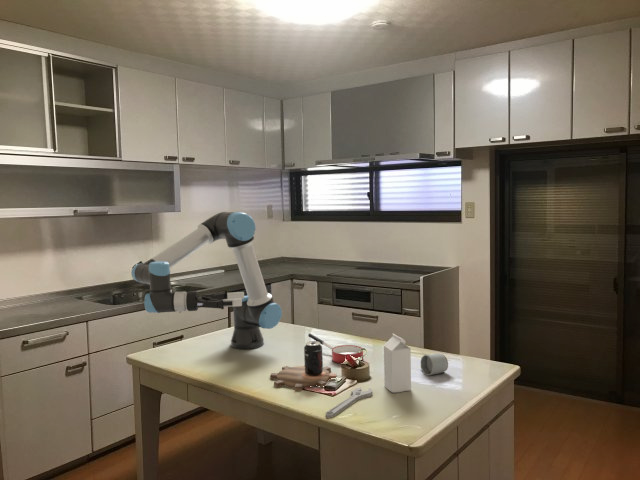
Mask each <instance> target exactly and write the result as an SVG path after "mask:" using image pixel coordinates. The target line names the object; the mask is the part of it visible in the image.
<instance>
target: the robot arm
mask: <svg viewBox="0 0 640 480" xmlns="http://www.w3.org/2000/svg"><path fill="white" fill-rule="evenodd" d="M256 227H257V226H256V223H255V220H254V218H253V217H252V216H251V215H250V214H248V213H246V212H242V211H235V212H234V211H221V212H218V213H216V214H214V215H212V216H210V217H209V218H207V219H205V220H204V221H203V222H201V223H200V224H198V225H197V228H196V229H195V230H193V231H192V232H190V233H188V234H186V235H185V236H184V237H182V238H180V239H179V240H178V241H176V242H174V243H173V244H171V245H170V246H168V247H167V248H165V249H164V250H163V251H160V252H159V253H158V254H156V255H155V256H153V257H152V258H150V259H149V260H147V261H145V262H142V263H137V264H134V266H133V267H132V269H131V273H130V274H131V277H132V279H133V280H134V281H136V282H138V283H140V284H146V285H149V292H148V293H146V294H145V295H144V302H143V305H144V309H145V311H146V313H153V314H155V313H157V314H159V313H174V312H175V313H176V312H178V313H179V314H181V313H182V312H187V311H188V312H196V311H198V310H199V308H200V309H201V308H203V309H204V308H205V309H207V308H208V309H220V310H224V309H225V308H231V307H232V308H233V326H234V327H233V328H234V329H233V332H232V336H231V340H230V347H231V348H233V349H238V350H249V349H255V348H260V347H262V346H263V345H264V342H265V341H264V337H263V333H262V332H261V329H268V330H271V329H274V328H275V327H277V326H278V325H279V323H280V322H281V321H280V320H281V319H282V314H283V311H282V308H281V306H280V304H279V303H276V302H275V301H274V298H273V295H272V293H269V292H268V289H267V287H266V284H265V281H264V277H263V274H262V271H261V268H260V265H259V261H258V259H257V258H258V257H257V256H256V255H257V254H256V251H255V249H254V245H253V242H254V241H255V237H254V236H255V232H256V230H257V229H256ZM218 240H225V242H226V244H227V248H228V249H231V250H232V252H233V254H234V257H235V261H236V264H237V267H238V270H239V273H240V275H241V278H242V281H243V284H244V289H245V291H246V294H247V295H245V291H236V292H235V291H233V292H228V290H224V291H221V292H214V293H213V292H212V293H207V294H206V293H205V294H204V293H203V294H201V296H199V293H198V291H197V290H195V291H194V290H193V291H192V290H191V291H171V290H172V289H171V270H170V269H172V268H173V267H174V266H176V265H177V264H178V263H180V262H182V261H183V260H185V259H186V258H187V257H189V256H191V255H192V254H193V253H195V252H197V251H198V250H200V249H201V248H203V247H204V246H206V245H207V244H213V243H214V242H216V241H218Z"/></svg>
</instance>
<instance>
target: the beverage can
mask: <svg viewBox="0 0 640 480" xmlns="http://www.w3.org/2000/svg"><path fill="white" fill-rule="evenodd" d="M303 355H304V358H303V359H304V365H305V373H306V374H307V375H309V376H319V375H320V374H321V373H322V372H323V367H324V364H323V363H324V362H323V359H324V358H323V346H322V344H320V342H318V341H315V340H309V341H307V342H305V345H304V347H303Z"/></svg>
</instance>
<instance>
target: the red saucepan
mask: <svg viewBox="0 0 640 480" xmlns="http://www.w3.org/2000/svg"><path fill="white" fill-rule="evenodd" d="M308 337H309V338H310V339H312V340H313V341H318V342H320V345H321V346H322V345H324V346H325V347H327V348H328V349H330V350H331V359H332V361H333V362H334V363H336V364H340V365H342V364H341V363H343V362H344V361H345V356H346V355H347V354H349V355H351V356H353V357H355V358H358V357H361V356H363V357H362V361H363V359H364V348H363V347H362V346H359V345H358V346H357V345H353V344H343V345H338V346H334V347H333V346H331V345H330V344H328V343H327V342H326V341H324V340H322V339H321V338H319V337H317V336H315V335H314V334H312V333H308ZM361 349H363V350H362V351H361V352H360V353H359V351H360V350H361Z"/></svg>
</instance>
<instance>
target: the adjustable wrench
mask: <svg viewBox="0 0 640 480" xmlns="http://www.w3.org/2000/svg"><path fill="white" fill-rule="evenodd" d="M350 395H351V396H349V397H348V398H346V399H345V400H343V401H341V402H339V403H338V404H337V405H335V406H333V407H332V408H330V409H329V410H327V411H325V417H326V418H328V419H330V418H331V417H332V418H334V417H335V416H337V415H338V414H340V413H341V412H343V411H344V410H346V409H347V408H349V407H350V406H351V405H353V404H354V403H355V402H357V401H358V400H362V399H365V398H369V397H371V396H373V389H372V388H368V390H365V391H364V390H362V388H361V387H357V388H355V389H353V390H351V391H350Z"/></svg>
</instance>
